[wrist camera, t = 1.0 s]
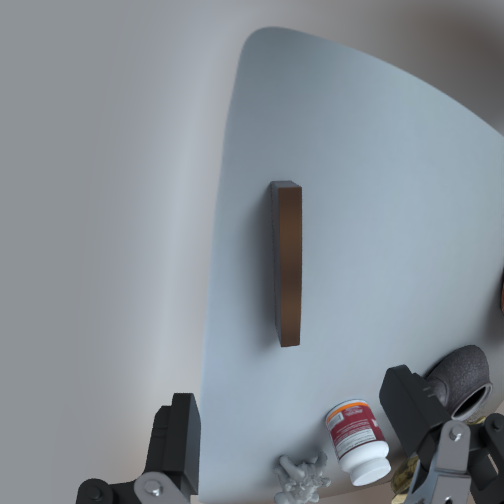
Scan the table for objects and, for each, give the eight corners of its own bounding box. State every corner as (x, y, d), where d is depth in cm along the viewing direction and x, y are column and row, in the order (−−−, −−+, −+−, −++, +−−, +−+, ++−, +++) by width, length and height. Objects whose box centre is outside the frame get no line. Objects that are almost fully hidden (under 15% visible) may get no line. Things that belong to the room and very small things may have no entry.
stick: (270, 181, 22) (278, 187, 19) (291, 180, 22) (301, 186, 19) (275, 324, 26) (280, 347, 23) (291, 322, 27) (299, 345, 23)
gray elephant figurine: (326, 442, 35) (338, 482, 28) (322, 471, 40) (331, 504, 32) (265, 454, 35) (271, 496, 28) (272, 481, 39) (277, 515, 32)
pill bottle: (366, 417, 34) (392, 476, 24) (325, 430, 34) (344, 493, 24) (369, 391, 32) (401, 457, 21) (323, 406, 32) (347, 477, 21)
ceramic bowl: (433, 459, 48) (447, 486, 38) (355, 485, 45) (366, 518, 36) (496, 378, 37) (521, 407, 28) (417, 406, 35) (444, 450, 26)
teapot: (417, 350, 30) (458, 403, 21) (487, 334, 31) (524, 371, 22) (372, 436, 36) (391, 483, 27) (440, 415, 38) (463, 452, 28)
